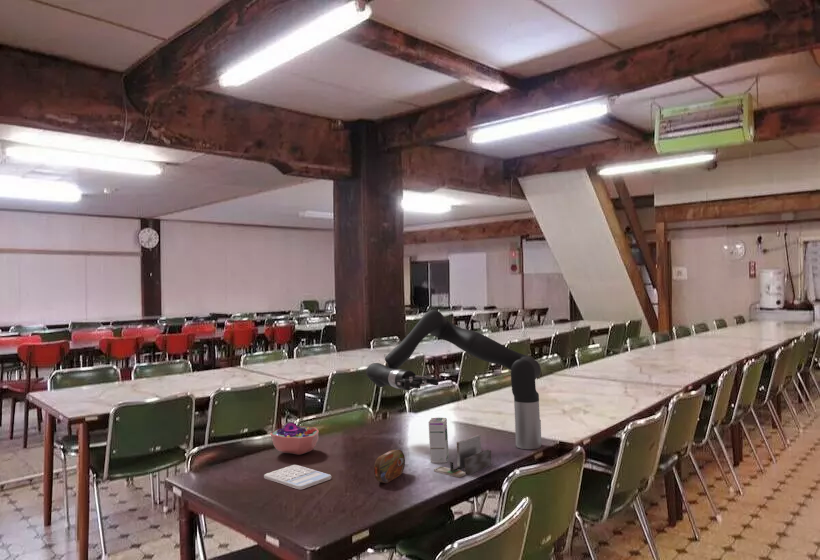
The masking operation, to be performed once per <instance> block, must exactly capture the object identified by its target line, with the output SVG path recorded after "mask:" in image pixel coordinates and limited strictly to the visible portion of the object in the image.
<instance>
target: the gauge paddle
mask: <svg viewBox="0 0 820 560" xmlns="http://www.w3.org/2000/svg"><path fill="white" fill-rule="evenodd" d="M481 440H482V439H481V435H480V434H476V435H473V436H470V437H468V438H465V439H461V440H459V441H456V462H457V464H456V465H457V466H456V467H454V461H449V463H450V464H449V465H450V466H449V468H450V471H451V472H453V471H455V470H460V471H463V470H465V462H464V459H465V458H468V457H470V456H472V455H475V454H477V453H480V452H482V443H481V442H482V441H481Z"/></svg>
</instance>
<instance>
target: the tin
mask: <svg viewBox="0 0 820 560" xmlns="http://www.w3.org/2000/svg"><path fill="white" fill-rule="evenodd" d="M405 463H406V458H405V454H404V452H403V451H402V450H401V449H391V450H389V451H387V452H385V453H383V454H382V455H379V456H378V457H377V458H376V459H375V461H374V466H373V469H374V471H373V472H374V478H375V480H376V481H377V482H378V483H383V484H388V483H390V482H391V481H393V480H395V479H397V478H398V477H400V476H401V475H402V473H403V472H404V470H405V466H406V464H405Z"/></svg>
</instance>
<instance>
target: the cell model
mask: <svg viewBox="0 0 820 560" xmlns="http://www.w3.org/2000/svg"><path fill="white" fill-rule="evenodd" d="M269 434H270V437H271V439H272V444H273V446H274V448H275V449H276V451H278V452H280V453H282V454H293V455H298V456H300V455H303V454H306V453H307V454H308V453H310V452H311V451H313V450H314V448H315V447H316V445H317V443H318V442H319V429H318V428H317V427H315V426H312V427H311V426H304V425H303V426H301V425H299V426H298V425H297V423H295V422H292V421H290V422H289V421H288V422H287V423H285V424H284V426H283V427H281V428H277V429H275V430H273V431H271V432H270V433H269Z"/></svg>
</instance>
